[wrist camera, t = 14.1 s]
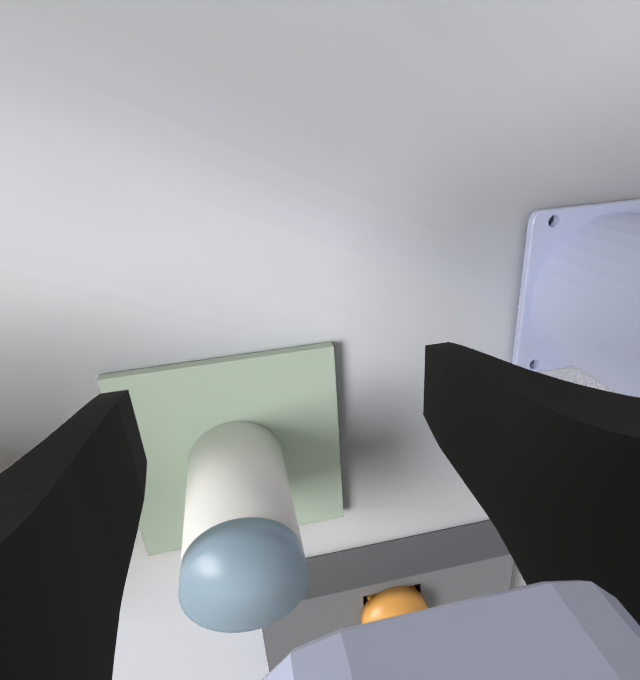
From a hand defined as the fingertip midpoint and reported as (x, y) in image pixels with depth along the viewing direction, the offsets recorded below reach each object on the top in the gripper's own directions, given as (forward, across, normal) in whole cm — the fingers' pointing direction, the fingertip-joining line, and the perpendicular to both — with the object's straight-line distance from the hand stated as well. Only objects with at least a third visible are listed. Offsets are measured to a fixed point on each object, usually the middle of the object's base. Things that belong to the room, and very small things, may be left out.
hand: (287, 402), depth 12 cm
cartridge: (+9, +2, +8) cm, 12 cm away
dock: (+9, -5, +22) cm, 24 cm away
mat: (+9, +2, +8) cm, 13 cm away
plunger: (+9, -5, +18) cm, 21 cm away
